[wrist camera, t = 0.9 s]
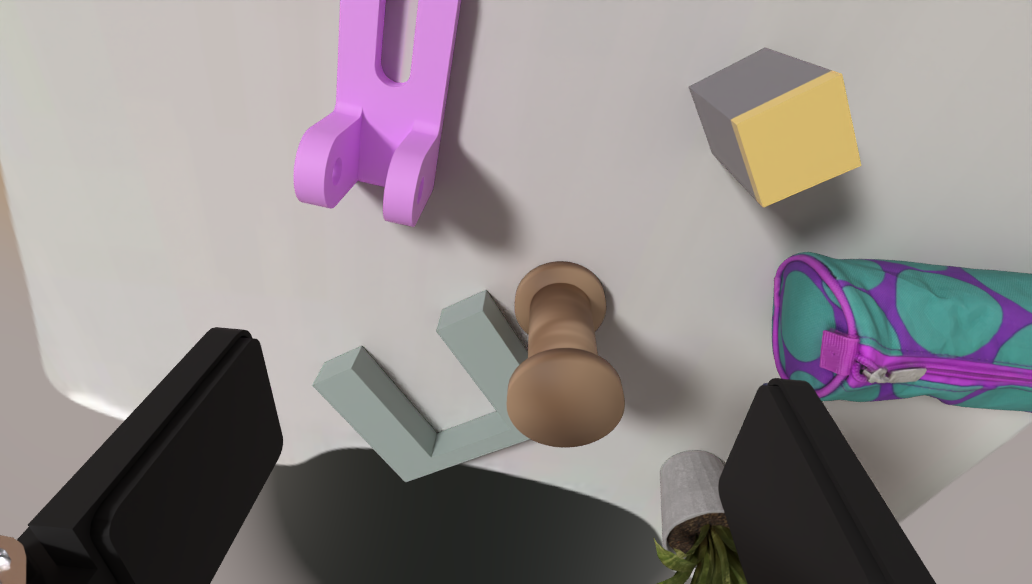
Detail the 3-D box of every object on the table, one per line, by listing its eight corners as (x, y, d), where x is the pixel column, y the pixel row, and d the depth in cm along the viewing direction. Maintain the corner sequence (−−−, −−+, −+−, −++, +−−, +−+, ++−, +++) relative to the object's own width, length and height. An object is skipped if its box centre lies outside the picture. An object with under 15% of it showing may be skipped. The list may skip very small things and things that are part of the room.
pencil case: (737, 340, 36) (794, 447, 28) (780, 223, 31) (864, 312, 23) (1034, 365, 36) (1178, 480, 28) (1122, 253, 31) (1325, 352, 23)
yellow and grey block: (765, 47, 26) (842, 73, 20) (784, 118, 28) (861, 165, 21) (688, 86, 28) (736, 124, 21) (711, 152, 29) (763, 207, 23)
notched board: (486, 289, 35) (482, 310, 33) (561, 403, 40) (562, 427, 38) (324, 362, 39) (312, 385, 37) (412, 457, 44) (405, 482, 42)
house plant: (644, 378, 38) (702, 610, 24) (816, 418, 40) (963, 660, 26) (582, 497, 46) (600, 727, 32) (729, 527, 47) (807, 761, 33)
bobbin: (581, 246, 33) (595, 343, 24) (618, 316, 35) (642, 425, 27) (498, 284, 34) (484, 386, 26) (540, 348, 37) (539, 460, 29)
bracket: (433, 188, 31) (408, 239, 25) (341, 167, 31) (293, 213, 25) (471, -67, 25) (449, -78, 19) (353, -98, 24) (292, -121, 18)
